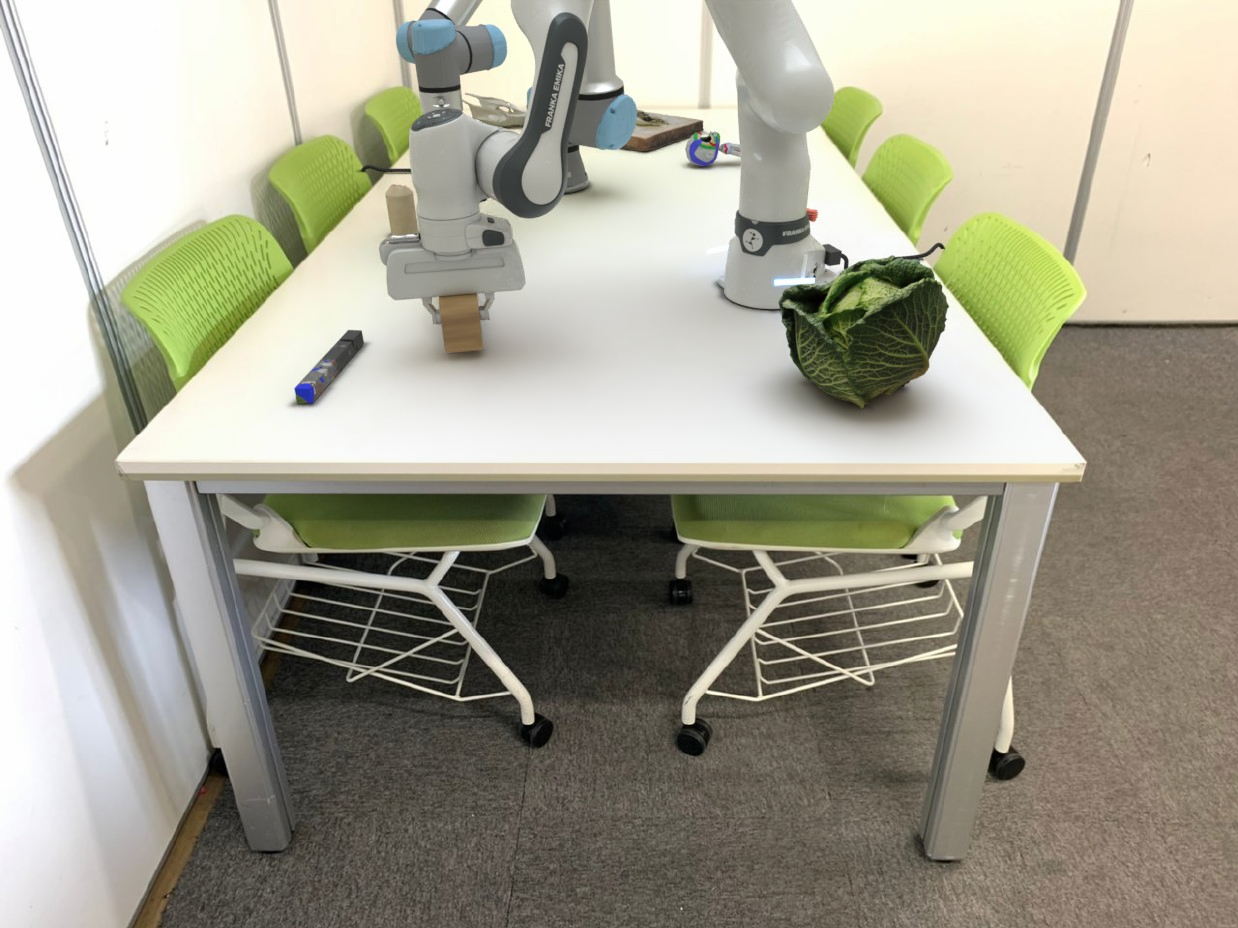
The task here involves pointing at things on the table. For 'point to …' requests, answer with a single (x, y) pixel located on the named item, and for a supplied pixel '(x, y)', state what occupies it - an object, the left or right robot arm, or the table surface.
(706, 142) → the toy
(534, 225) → the table surface
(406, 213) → the candle
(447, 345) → the beam
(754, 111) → the right robot arm
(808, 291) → the vegetable
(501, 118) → the anatomical model
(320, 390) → the pillar
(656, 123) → the plaque
